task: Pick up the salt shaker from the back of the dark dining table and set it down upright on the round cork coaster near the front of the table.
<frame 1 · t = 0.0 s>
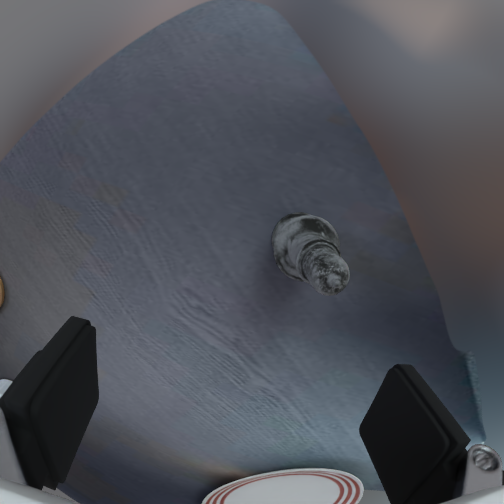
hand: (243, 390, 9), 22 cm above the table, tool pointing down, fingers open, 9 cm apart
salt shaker: (298, 238, 31), on the table
dinner plate: (281, 496, 44), on the table
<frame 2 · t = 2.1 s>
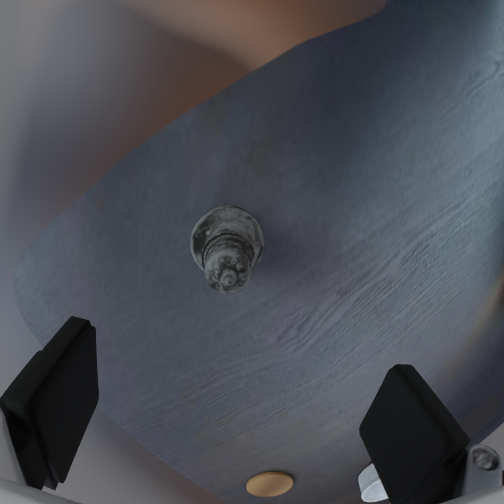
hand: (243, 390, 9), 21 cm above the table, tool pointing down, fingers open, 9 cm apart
coaster: (269, 483, 40), on the table
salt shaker: (227, 234, 29), on the table
ramekin: (379, 469, 42), on the table
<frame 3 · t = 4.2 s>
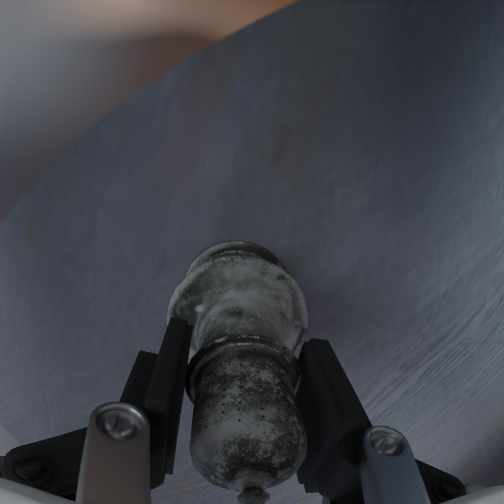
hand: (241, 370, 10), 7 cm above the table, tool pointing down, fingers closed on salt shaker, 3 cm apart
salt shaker: (235, 290, 17), on the table, touching gripper
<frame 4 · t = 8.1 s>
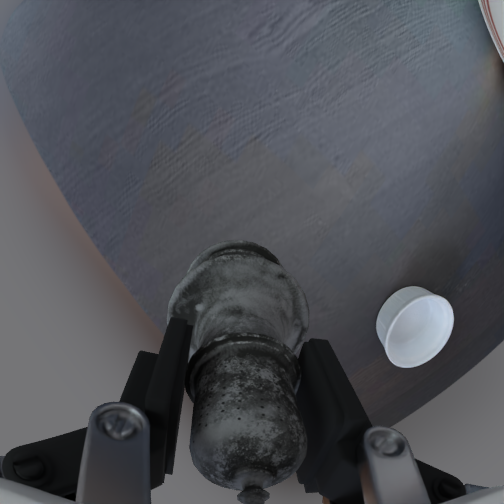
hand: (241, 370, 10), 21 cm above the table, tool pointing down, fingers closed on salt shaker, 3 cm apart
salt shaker: (236, 289, 17), point 14 cm above the table, touching gripper
ramekin: (403, 315, 35), on the table
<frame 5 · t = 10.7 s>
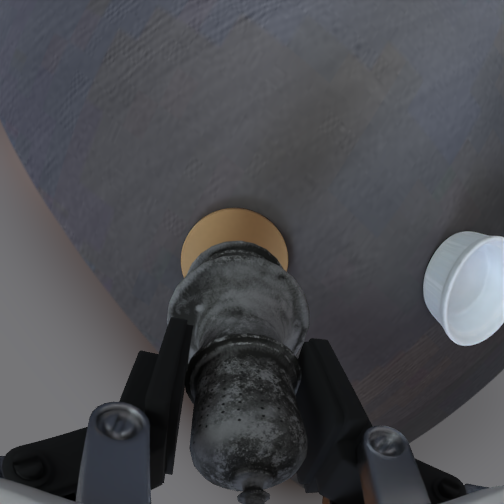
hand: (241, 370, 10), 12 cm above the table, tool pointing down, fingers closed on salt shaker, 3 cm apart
coaster: (234, 260, 22), on the table
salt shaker: (236, 289, 17), point 5 cm above the table, touching gripper
ramekin: (455, 274, 24), on the table
when the fingers open (7 cm above the table, at t = 12.2 s): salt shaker stays where it is, resting on coaster.
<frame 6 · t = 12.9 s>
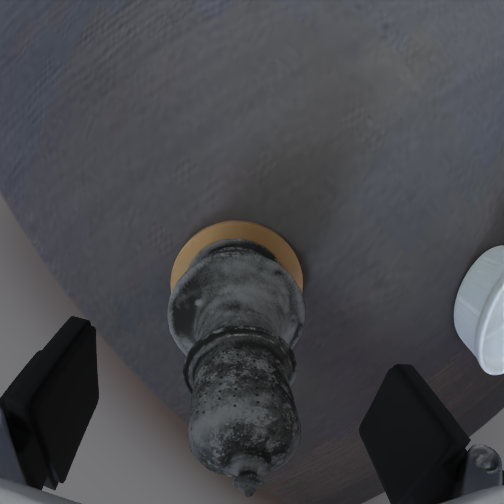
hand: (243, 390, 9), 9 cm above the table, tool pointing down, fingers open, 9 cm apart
coaster: (236, 284, 17), on the table
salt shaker: (234, 286, 17), resting on coaster
ramekin: (487, 294, 19), on the table
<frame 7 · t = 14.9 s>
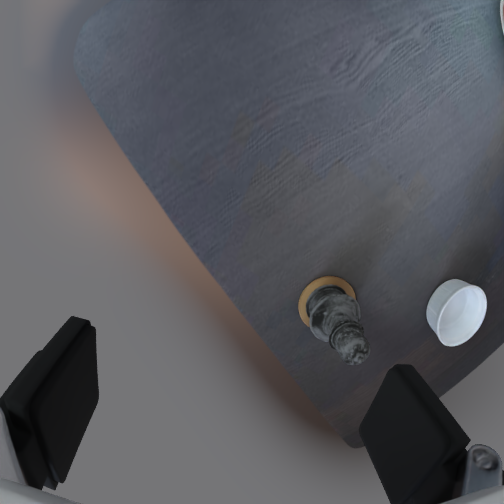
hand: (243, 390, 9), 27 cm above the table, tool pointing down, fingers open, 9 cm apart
coaster: (326, 303, 38), on the table
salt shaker: (326, 304, 37), resting on coaster
ramekin: (446, 303, 39), on the table
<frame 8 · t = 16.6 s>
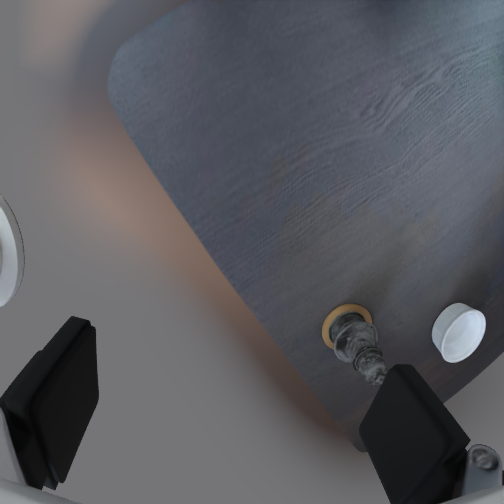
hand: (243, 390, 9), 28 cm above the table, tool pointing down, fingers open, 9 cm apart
coaster: (346, 327, 41), on the table
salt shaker: (346, 328, 41), resting on coaster
ramekin: (449, 324, 43), on the table
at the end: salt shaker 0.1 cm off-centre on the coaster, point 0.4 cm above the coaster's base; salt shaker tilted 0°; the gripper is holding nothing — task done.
